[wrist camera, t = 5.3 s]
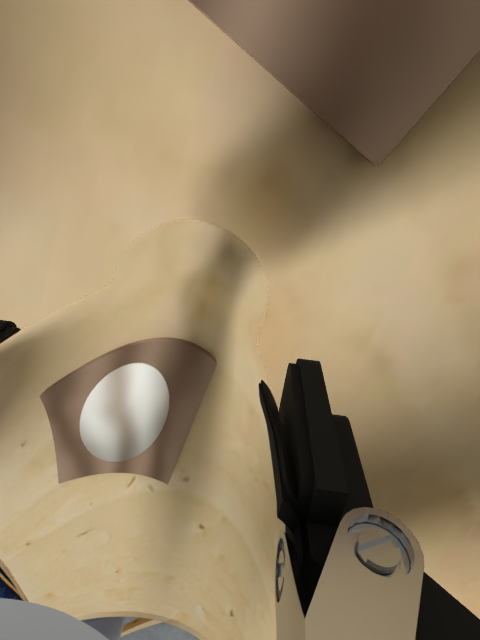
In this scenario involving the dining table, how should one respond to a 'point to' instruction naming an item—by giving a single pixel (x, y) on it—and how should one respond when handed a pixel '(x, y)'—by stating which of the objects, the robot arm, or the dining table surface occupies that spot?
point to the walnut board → (357, 57)
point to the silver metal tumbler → (150, 457)
